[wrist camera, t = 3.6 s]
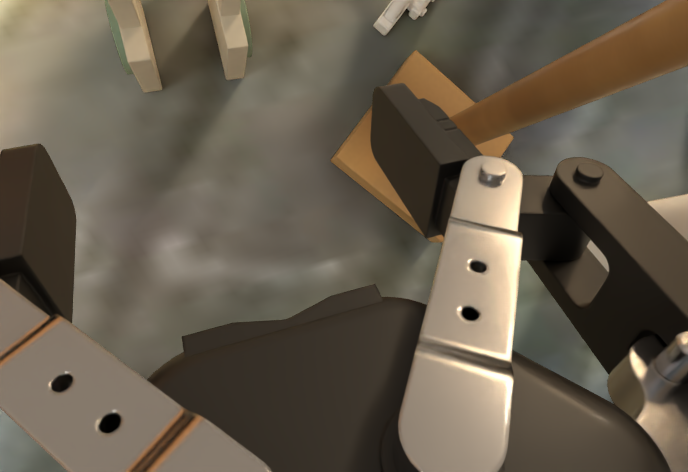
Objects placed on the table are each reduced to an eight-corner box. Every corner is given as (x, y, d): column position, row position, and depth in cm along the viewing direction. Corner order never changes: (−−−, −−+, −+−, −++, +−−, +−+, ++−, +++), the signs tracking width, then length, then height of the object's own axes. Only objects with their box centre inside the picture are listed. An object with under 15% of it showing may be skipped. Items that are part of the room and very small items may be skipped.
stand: (406, 58, 30) (820, -351, 9) (501, 142, 31) (1038, -49, 11) (329, 160, 29) (609, -48, 8) (431, 242, 30) (889, 245, 9)
